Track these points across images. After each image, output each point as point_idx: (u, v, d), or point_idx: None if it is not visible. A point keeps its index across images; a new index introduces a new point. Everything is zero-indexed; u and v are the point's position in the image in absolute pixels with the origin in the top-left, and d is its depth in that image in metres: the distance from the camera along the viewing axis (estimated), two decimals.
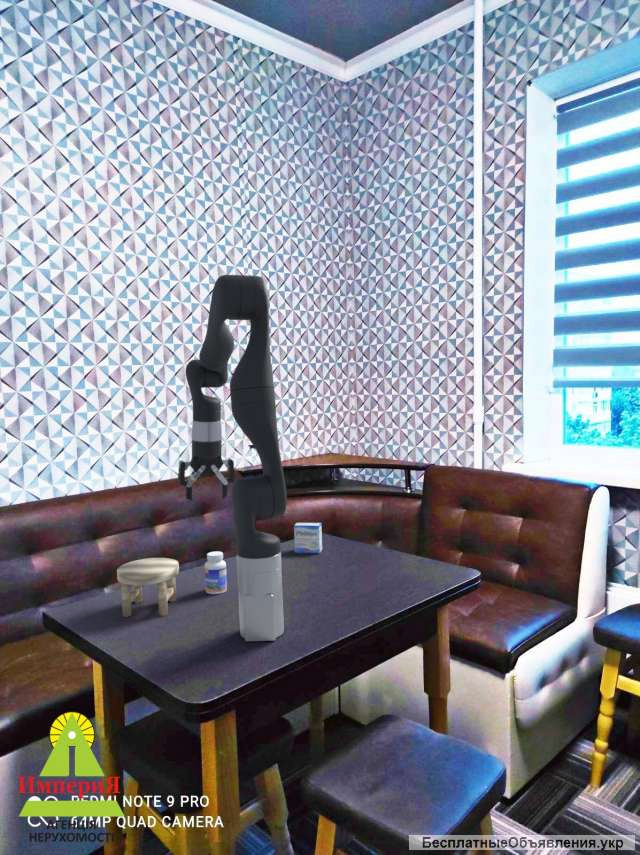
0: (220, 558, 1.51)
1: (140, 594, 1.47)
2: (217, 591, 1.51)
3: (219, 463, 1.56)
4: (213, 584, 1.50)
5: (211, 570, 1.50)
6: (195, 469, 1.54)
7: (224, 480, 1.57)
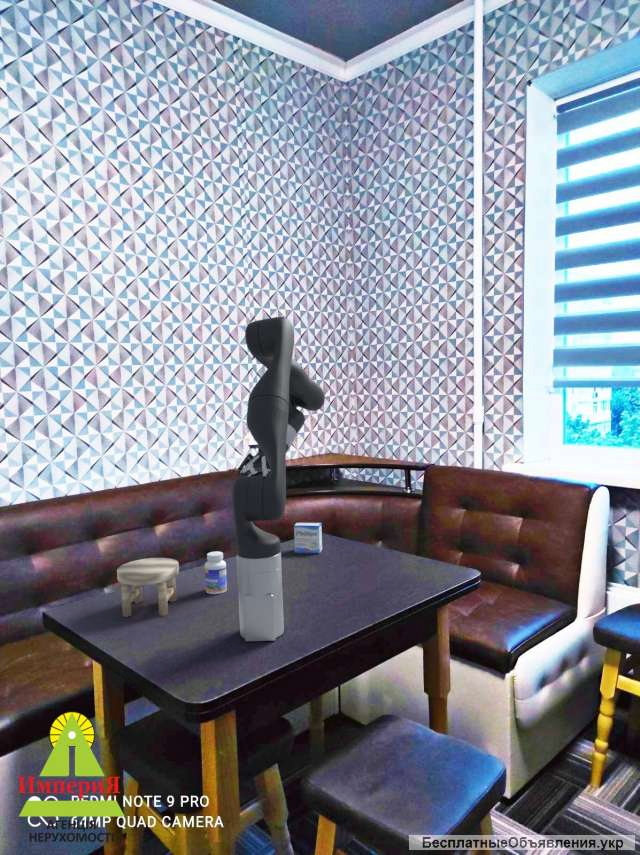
0: (220, 558, 1.51)
1: (140, 594, 1.47)
2: (217, 591, 1.51)
3: None
4: (213, 584, 1.50)
5: (211, 570, 1.50)
6: None
7: (265, 472, 1.58)
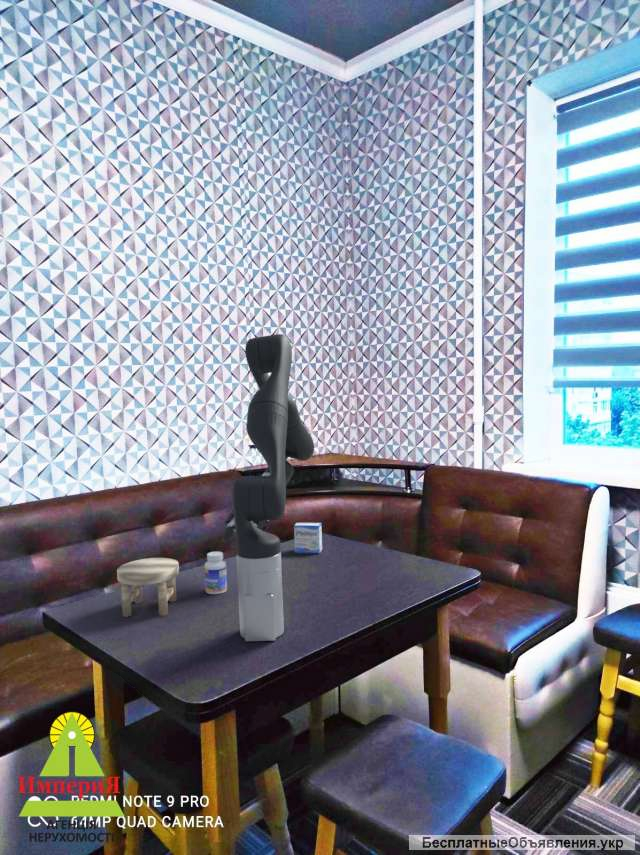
0: (220, 558, 1.51)
1: (140, 594, 1.47)
2: (217, 591, 1.51)
3: None
4: (213, 584, 1.50)
5: (211, 570, 1.50)
6: None
7: None
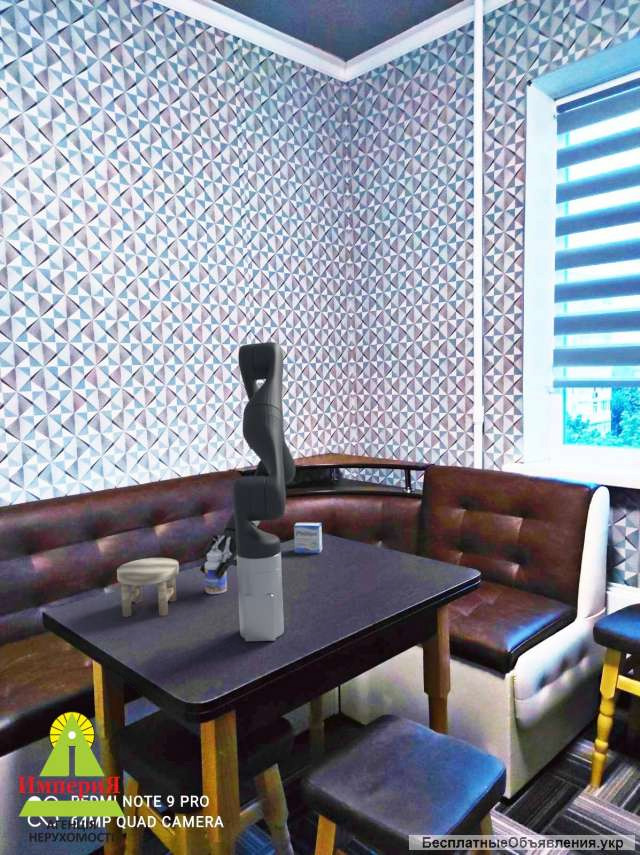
0: (220, 558, 1.51)
1: (140, 594, 1.47)
2: (217, 590, 1.51)
3: (236, 539, 1.53)
4: (213, 584, 1.50)
5: (211, 570, 1.50)
6: None
7: (225, 557, 1.51)
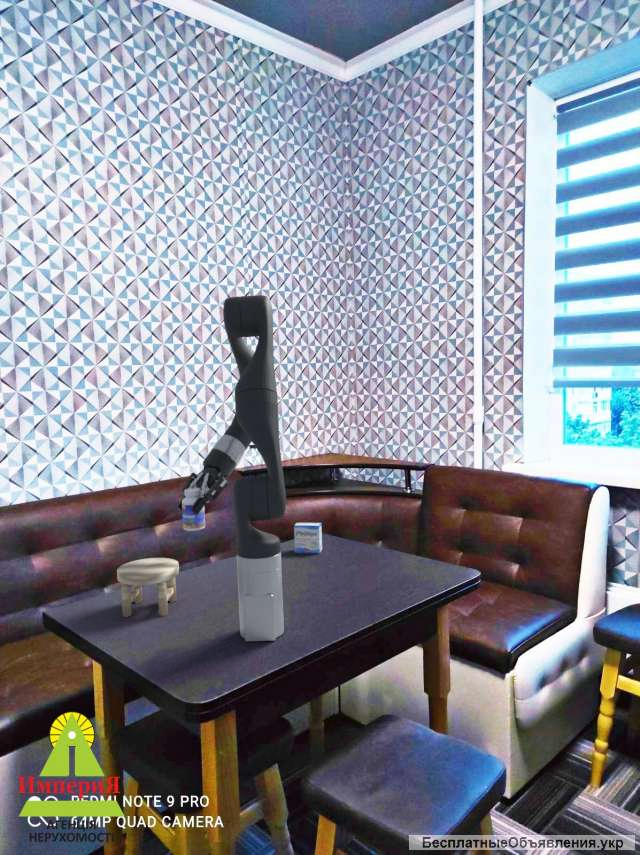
0: (198, 494, 1.47)
1: (140, 594, 1.47)
2: (195, 527, 1.46)
3: (214, 475, 1.49)
4: (190, 520, 1.46)
5: (188, 505, 1.46)
6: None
7: (202, 492, 1.46)
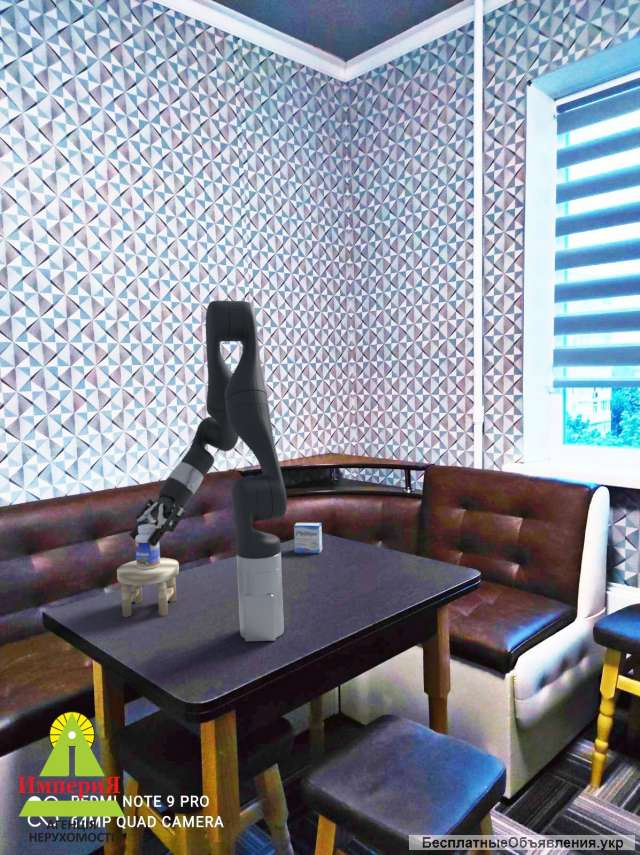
0: (152, 530, 1.41)
1: (140, 594, 1.47)
2: (149, 565, 1.40)
3: (169, 506, 1.42)
4: (144, 558, 1.40)
5: (141, 543, 1.40)
6: None
7: (160, 523, 1.39)
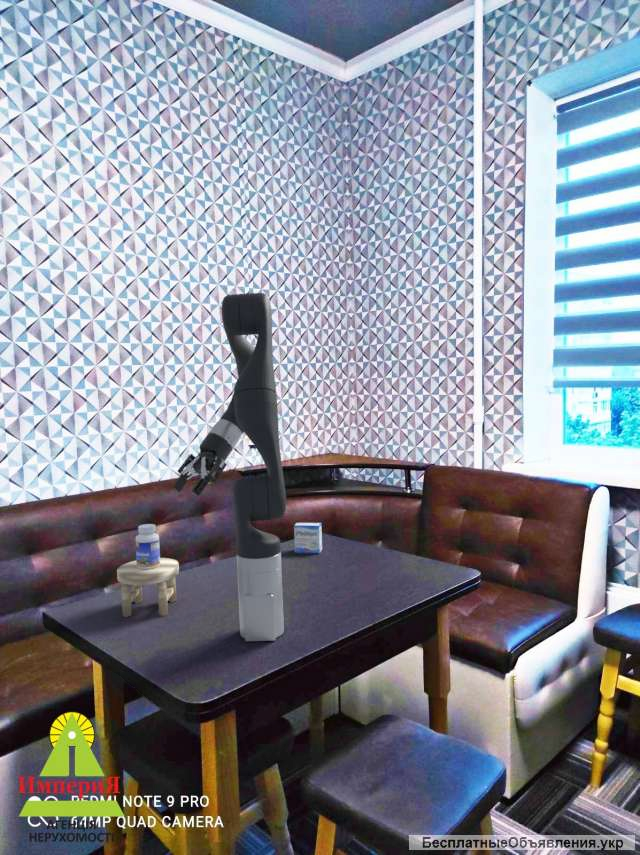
0: (152, 530, 1.41)
1: (140, 594, 1.47)
2: (149, 565, 1.40)
3: (211, 459, 1.50)
4: (144, 558, 1.40)
5: (141, 543, 1.40)
6: None
7: (203, 474, 1.47)
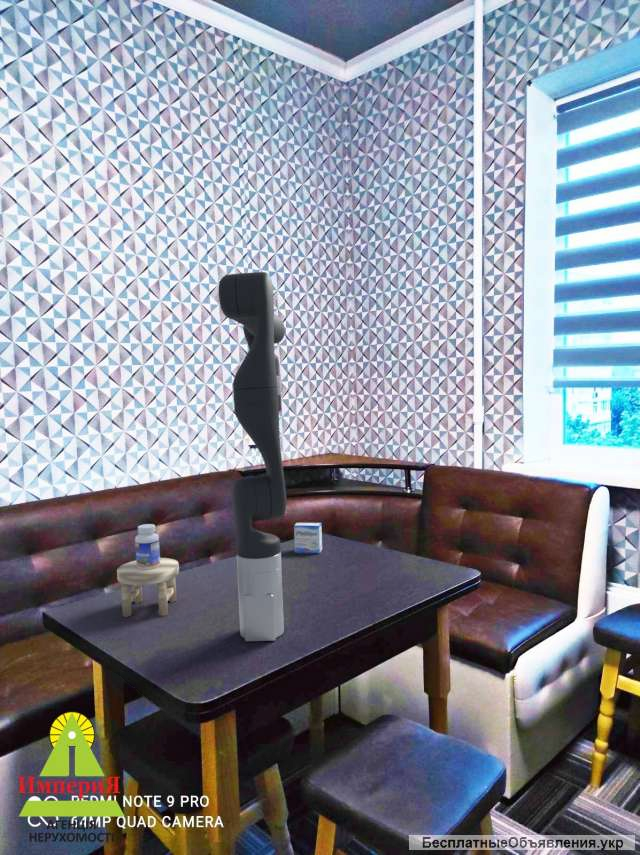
0: (152, 531, 1.41)
1: (140, 594, 1.47)
2: (149, 566, 1.40)
3: None
4: (144, 559, 1.40)
5: (141, 543, 1.39)
6: None
7: None
